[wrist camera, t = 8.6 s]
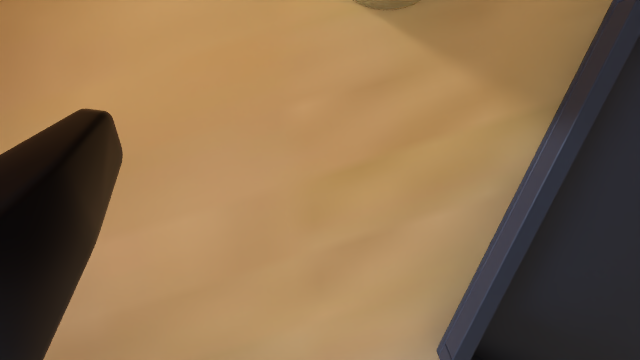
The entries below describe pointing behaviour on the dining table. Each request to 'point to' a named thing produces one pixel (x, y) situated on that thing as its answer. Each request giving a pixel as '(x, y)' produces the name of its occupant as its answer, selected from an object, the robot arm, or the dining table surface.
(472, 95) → the dining table surface
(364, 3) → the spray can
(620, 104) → the tray
